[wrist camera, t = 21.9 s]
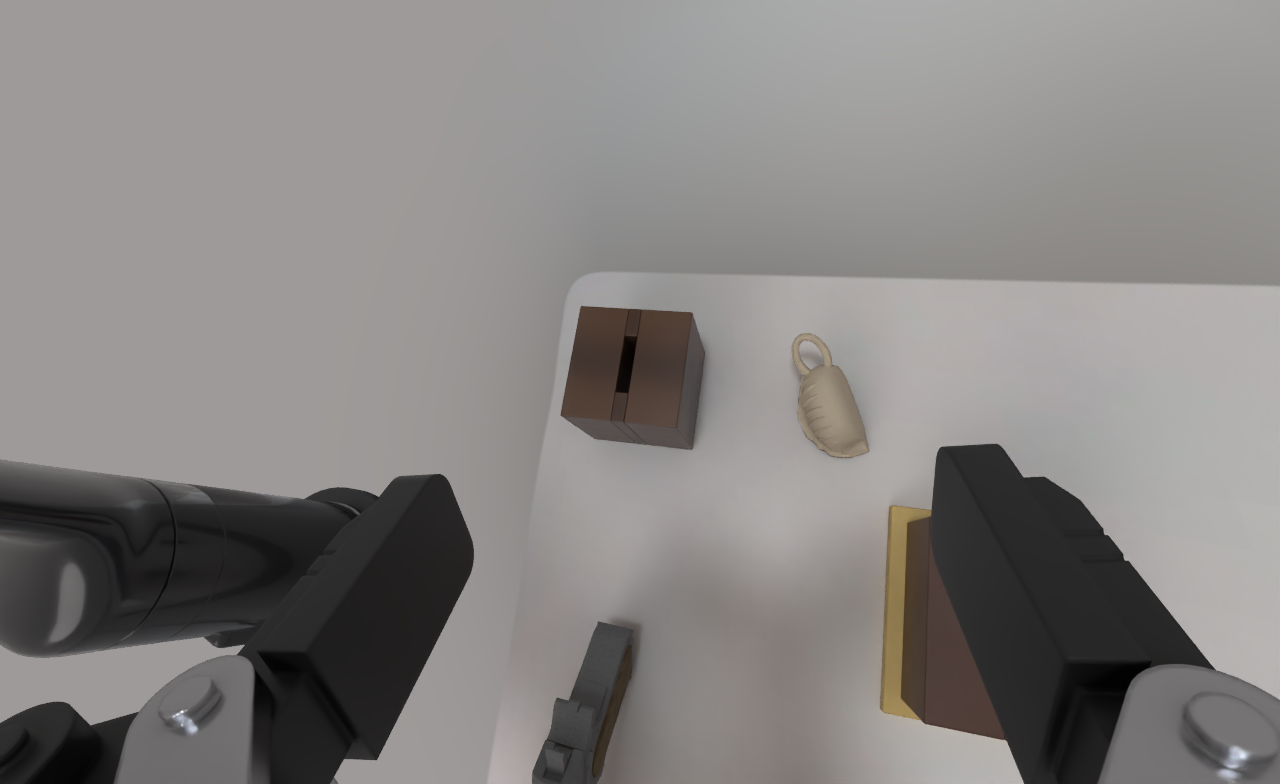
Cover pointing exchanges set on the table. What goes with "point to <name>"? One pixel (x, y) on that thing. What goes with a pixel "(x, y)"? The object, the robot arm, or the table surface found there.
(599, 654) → the handgun
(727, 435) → the table surface
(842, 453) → the decorative ornament
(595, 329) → the knife block
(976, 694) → the cake
